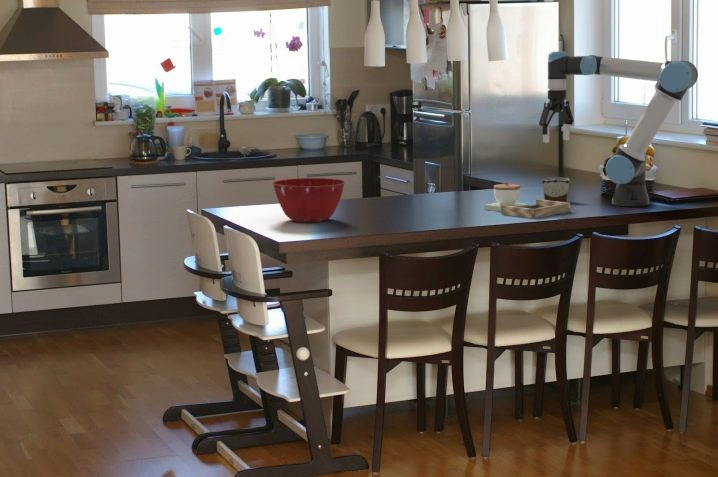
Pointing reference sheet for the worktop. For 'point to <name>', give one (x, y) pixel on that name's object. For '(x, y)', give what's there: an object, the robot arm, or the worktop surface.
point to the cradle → (537, 209)
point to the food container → (556, 188)
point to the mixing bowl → (309, 198)
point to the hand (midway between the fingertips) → (556, 141)
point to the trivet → (498, 207)
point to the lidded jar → (506, 193)
